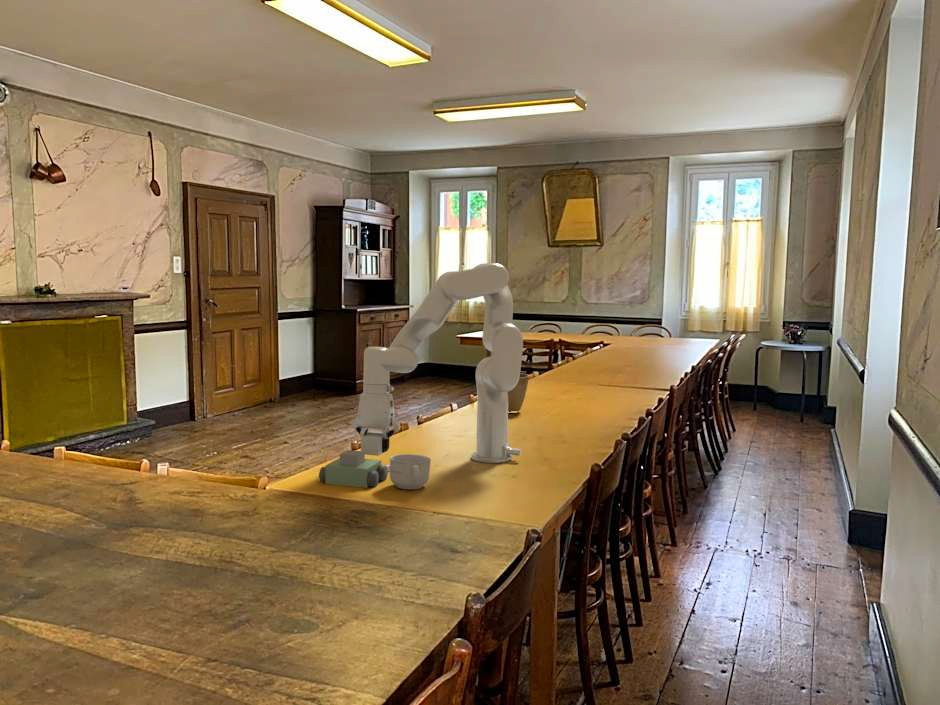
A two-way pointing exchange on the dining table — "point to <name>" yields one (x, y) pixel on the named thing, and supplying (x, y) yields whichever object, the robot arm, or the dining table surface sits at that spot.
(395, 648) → the dining table surface
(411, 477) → the teacup
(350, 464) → the toy car
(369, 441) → the light grey box
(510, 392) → the plant pot
